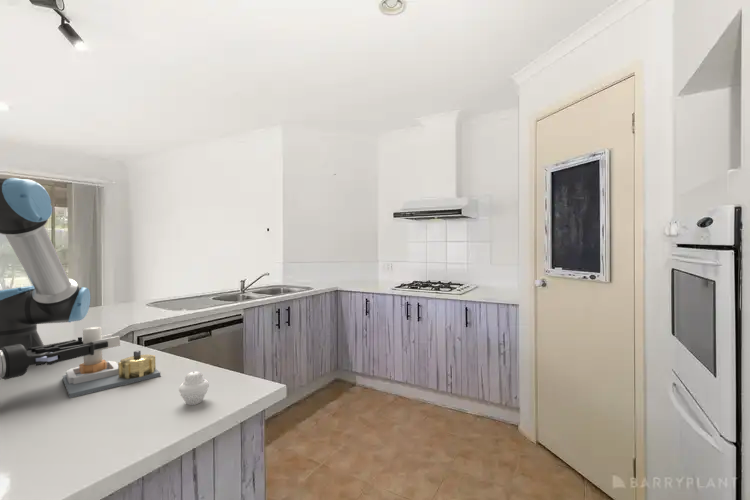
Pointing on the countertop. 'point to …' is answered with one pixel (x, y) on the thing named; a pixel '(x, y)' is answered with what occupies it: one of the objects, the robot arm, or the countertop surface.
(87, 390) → the carrier plate
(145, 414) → the countertop surface
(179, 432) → the countertop surface
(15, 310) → the robot arm
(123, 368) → the sun gear
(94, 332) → the white cylinder orange base
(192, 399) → the muffin
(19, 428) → the countertop surface
